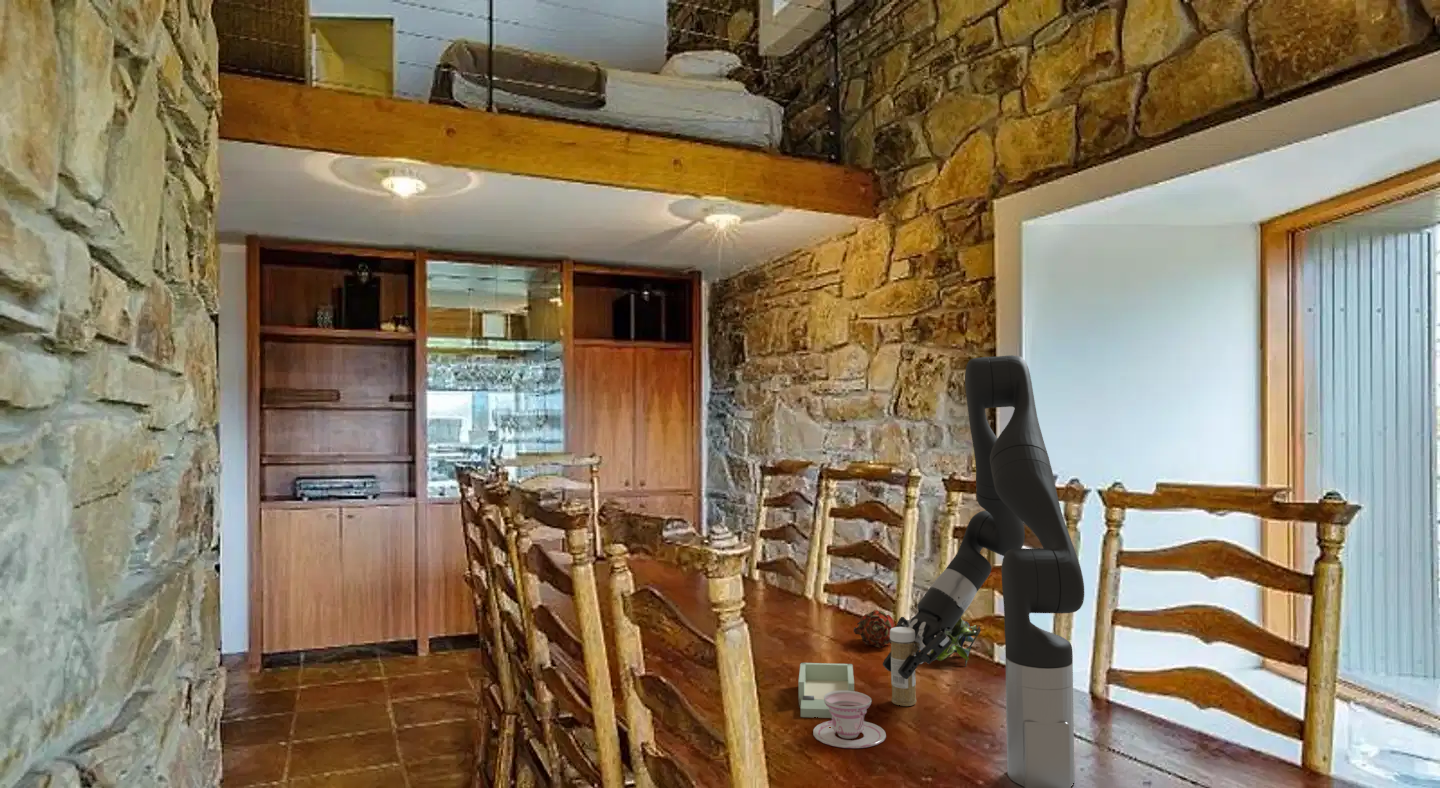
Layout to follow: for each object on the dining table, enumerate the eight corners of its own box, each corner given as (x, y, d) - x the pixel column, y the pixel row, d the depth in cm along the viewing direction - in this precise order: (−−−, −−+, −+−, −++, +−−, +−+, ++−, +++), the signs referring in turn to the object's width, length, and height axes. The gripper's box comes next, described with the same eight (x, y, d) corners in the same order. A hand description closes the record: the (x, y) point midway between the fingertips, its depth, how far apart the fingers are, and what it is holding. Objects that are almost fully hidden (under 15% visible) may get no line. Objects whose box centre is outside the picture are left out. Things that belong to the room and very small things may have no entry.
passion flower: (947, 681, 189) (967, 631, 193) (980, 686, 179) (1000, 633, 184) (908, 656, 187) (929, 605, 191) (938, 659, 177) (959, 606, 181)
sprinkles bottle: (921, 703, 159) (920, 629, 160) (903, 708, 157) (902, 633, 157) (903, 697, 163) (902, 624, 163) (885, 701, 161) (884, 628, 161)
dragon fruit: (883, 660, 192) (865, 653, 204) (911, 635, 194) (892, 629, 206) (860, 629, 192) (843, 624, 204) (888, 604, 194) (869, 600, 206)
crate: (855, 718, 152) (855, 692, 152) (797, 716, 153) (797, 691, 153) (852, 687, 169) (852, 664, 169) (800, 685, 170) (800, 662, 170)
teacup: (800, 728, 148) (800, 692, 148) (862, 718, 153) (862, 683, 153) (834, 754, 137) (833, 715, 137) (900, 743, 141) (899, 705, 141)
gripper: (912, 579, 170) (860, 649, 165) (960, 593, 157) (904, 670, 152) (935, 604, 172) (884, 674, 167) (984, 620, 159) (930, 696, 154)
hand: (894, 671), depth 159 cm, fingers closed on sprinkles bottle, 4 cm apart
